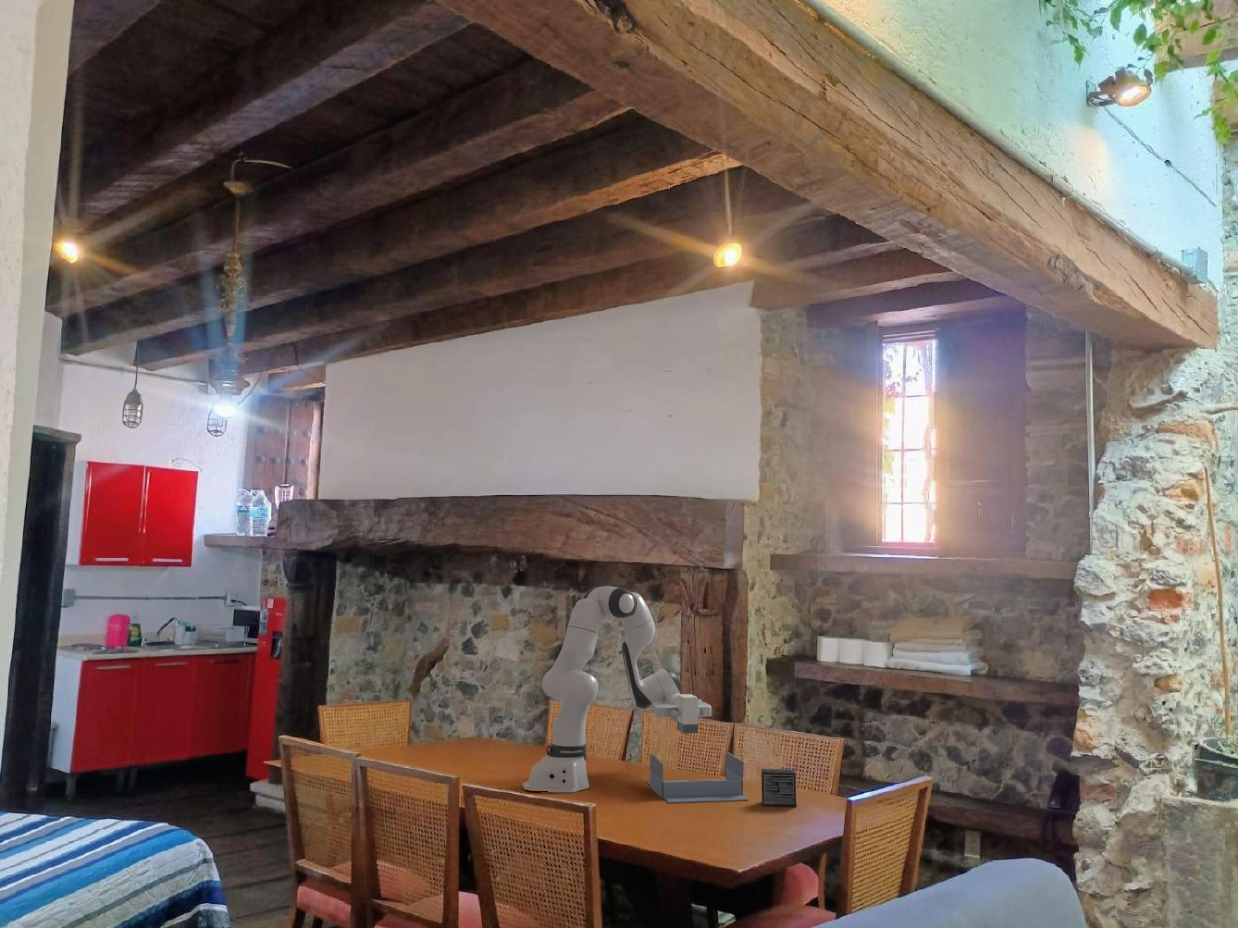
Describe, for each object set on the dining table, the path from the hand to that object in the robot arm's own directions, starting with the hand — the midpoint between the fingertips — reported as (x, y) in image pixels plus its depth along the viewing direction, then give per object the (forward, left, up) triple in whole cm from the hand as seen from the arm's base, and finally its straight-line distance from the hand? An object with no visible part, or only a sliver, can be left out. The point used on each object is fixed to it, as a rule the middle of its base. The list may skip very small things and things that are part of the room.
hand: (688, 713), depth 333 cm
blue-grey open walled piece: (0, -10, -24) cm, 26 cm away
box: (0, +1, -6) cm, 6 cm away
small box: (+21, -32, -24) cm, 45 cm away
